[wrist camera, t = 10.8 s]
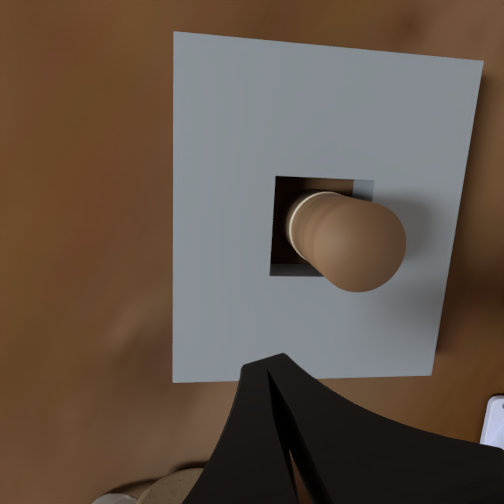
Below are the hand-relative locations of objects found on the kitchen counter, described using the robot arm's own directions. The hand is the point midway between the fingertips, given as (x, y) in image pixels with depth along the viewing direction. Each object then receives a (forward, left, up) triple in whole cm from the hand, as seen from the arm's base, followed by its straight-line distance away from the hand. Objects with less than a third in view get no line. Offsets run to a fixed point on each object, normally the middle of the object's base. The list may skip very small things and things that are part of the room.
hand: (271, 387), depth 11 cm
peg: (-4, -4, -10) cm, 11 cm away
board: (-4, -3, -10) cm, 11 cm away
